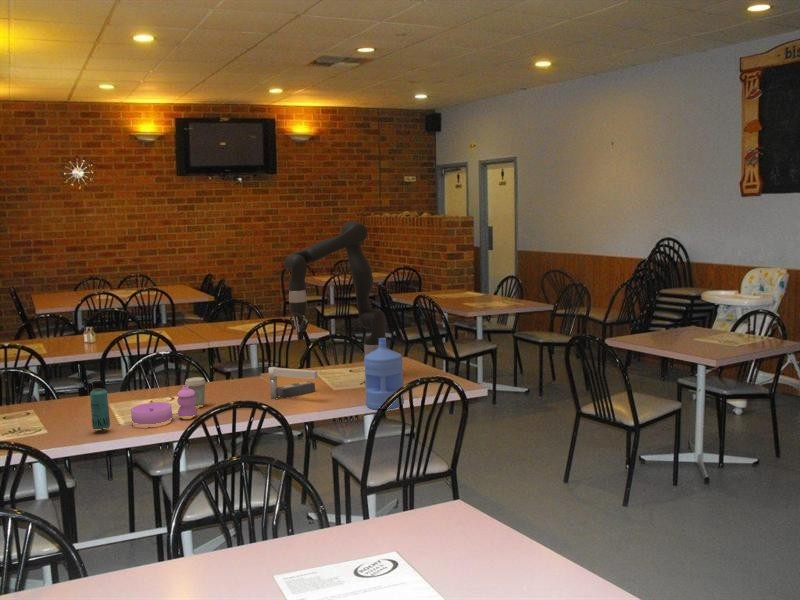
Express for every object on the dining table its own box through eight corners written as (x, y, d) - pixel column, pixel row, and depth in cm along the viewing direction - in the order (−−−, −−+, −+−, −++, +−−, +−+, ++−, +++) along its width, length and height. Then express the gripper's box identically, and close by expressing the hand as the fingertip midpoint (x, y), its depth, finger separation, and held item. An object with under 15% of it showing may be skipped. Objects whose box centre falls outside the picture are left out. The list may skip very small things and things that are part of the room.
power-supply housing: (284, 398, 342) (283, 388, 341) (277, 396, 346) (276, 386, 346) (315, 391, 352) (314, 382, 351) (308, 389, 356) (307, 380, 356)
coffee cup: (182, 408, 331) (180, 381, 330) (194, 403, 339) (192, 376, 337) (199, 410, 328) (197, 382, 326) (211, 404, 336) (209, 377, 334)
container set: (132, 430, 303) (129, 397, 301) (131, 420, 317) (128, 388, 315) (199, 422, 311) (197, 389, 309) (195, 412, 325) (193, 381, 324)
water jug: (367, 400, 333) (364, 335, 329) (404, 399, 332) (402, 334, 328) (364, 411, 318) (361, 342, 314) (403, 410, 317) (400, 341, 313)
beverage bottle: (95, 430, 305) (90, 379, 302) (113, 428, 306) (108, 378, 303) (90, 435, 299) (85, 383, 296) (108, 434, 299) (103, 382, 296)
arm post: (272, 397, 344) (270, 377, 343) (278, 397, 344) (277, 377, 342) (270, 399, 341) (268, 379, 340) (277, 399, 341) (275, 379, 339)
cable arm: (267, 378, 340) (266, 368, 340) (272, 376, 343) (271, 366, 343) (314, 382, 330) (313, 372, 329) (318, 380, 333) (318, 370, 332)
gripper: (313, 300, 339) (316, 340, 341) (297, 298, 349) (300, 336, 351) (298, 302, 334) (301, 343, 336) (282, 300, 344) (285, 339, 347)
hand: (300, 339), depth 344 cm, fingers closed
